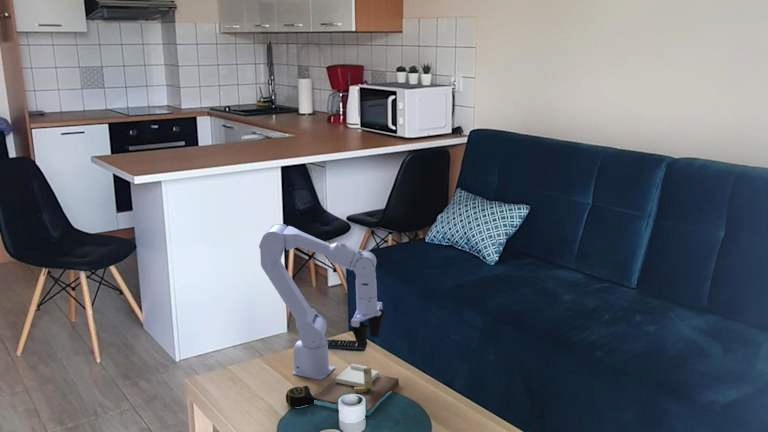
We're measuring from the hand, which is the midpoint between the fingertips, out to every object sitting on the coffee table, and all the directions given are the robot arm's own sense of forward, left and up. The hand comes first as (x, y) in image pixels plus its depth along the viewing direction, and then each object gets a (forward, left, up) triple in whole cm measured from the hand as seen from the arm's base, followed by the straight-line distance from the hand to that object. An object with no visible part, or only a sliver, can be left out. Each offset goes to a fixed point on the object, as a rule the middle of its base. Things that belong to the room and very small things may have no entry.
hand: (368, 341), depth 196 cm
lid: (+1, -9, -7) cm, 11 cm away
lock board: (+3, -13, -9) cm, 16 cm away
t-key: (+6, -14, -7) cm, 17 cm away
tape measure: (-8, -22, -10) cm, 26 cm away
